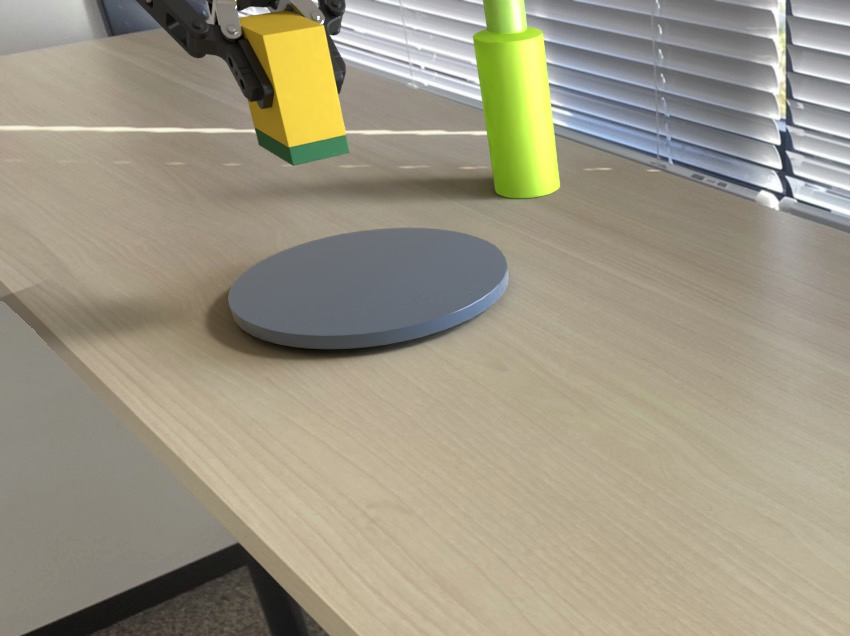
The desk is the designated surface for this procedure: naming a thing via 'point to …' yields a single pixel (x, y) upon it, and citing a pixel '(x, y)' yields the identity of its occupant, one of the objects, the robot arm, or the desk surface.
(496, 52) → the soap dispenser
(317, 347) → the plate
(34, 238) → the desk surface
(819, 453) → the desk surface
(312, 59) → the sponge
